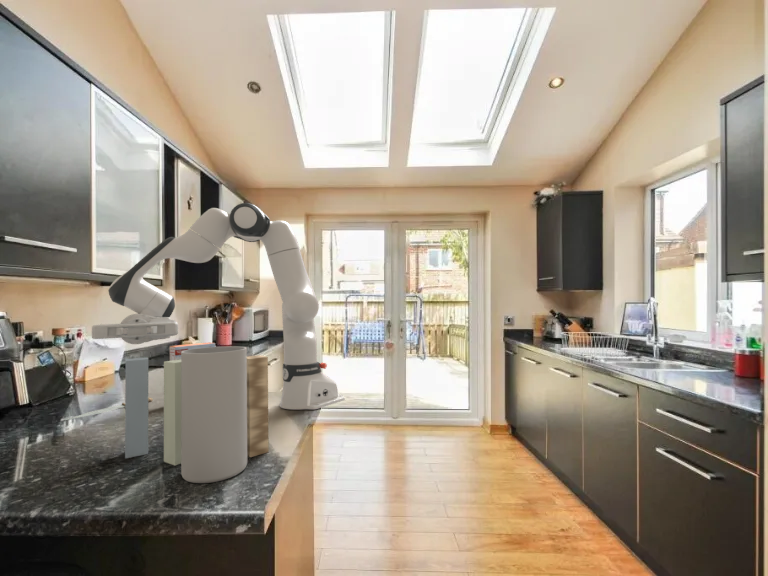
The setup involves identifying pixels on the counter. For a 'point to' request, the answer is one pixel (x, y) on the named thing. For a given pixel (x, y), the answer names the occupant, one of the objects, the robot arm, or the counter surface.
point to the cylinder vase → (213, 413)
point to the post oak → (257, 405)
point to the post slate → (136, 407)
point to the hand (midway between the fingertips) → (137, 331)
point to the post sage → (172, 412)
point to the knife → (104, 410)
